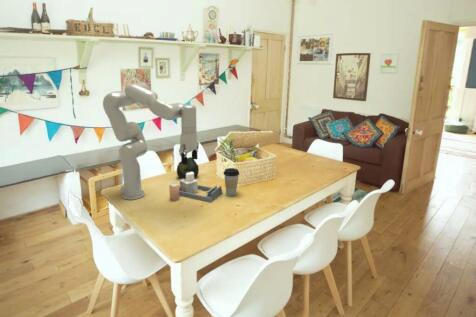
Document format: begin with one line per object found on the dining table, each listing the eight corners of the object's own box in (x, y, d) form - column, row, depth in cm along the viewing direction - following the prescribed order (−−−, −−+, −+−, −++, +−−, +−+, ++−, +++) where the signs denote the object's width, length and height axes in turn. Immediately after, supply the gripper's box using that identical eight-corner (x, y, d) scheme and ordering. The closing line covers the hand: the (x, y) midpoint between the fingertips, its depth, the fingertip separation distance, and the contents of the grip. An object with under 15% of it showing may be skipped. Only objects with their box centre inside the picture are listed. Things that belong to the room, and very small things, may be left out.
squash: (169, 169, 216) (179, 156, 208) (185, 164, 228) (195, 152, 220) (180, 186, 213) (191, 173, 204) (196, 180, 225) (207, 168, 216)
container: (180, 191, 195) (179, 171, 191) (190, 188, 200) (190, 168, 196) (187, 195, 189) (186, 175, 186) (197, 192, 194) (197, 172, 190)
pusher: (206, 200, 184) (206, 192, 182) (215, 193, 194) (215, 185, 192) (208, 200, 184) (208, 192, 182) (216, 193, 193) (217, 185, 192)
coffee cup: (229, 198, 187) (229, 174, 183) (220, 192, 194) (220, 169, 190) (242, 194, 192) (242, 171, 188) (232, 189, 200) (233, 166, 195)
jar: (167, 199, 184) (167, 185, 181) (173, 196, 188) (172, 182, 186) (176, 201, 181) (175, 187, 179) (181, 197, 186) (181, 183, 184)
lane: (173, 194, 191) (172, 186, 189) (186, 186, 203) (185, 178, 202) (211, 202, 181) (211, 194, 180) (222, 193, 193) (222, 185, 192)
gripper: (191, 125, 172) (192, 156, 177) (172, 131, 157) (173, 165, 162) (204, 127, 169) (204, 158, 174) (185, 133, 154) (186, 167, 159)
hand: (189, 161), depth 168 cm, fingers open, 9 cm apart
